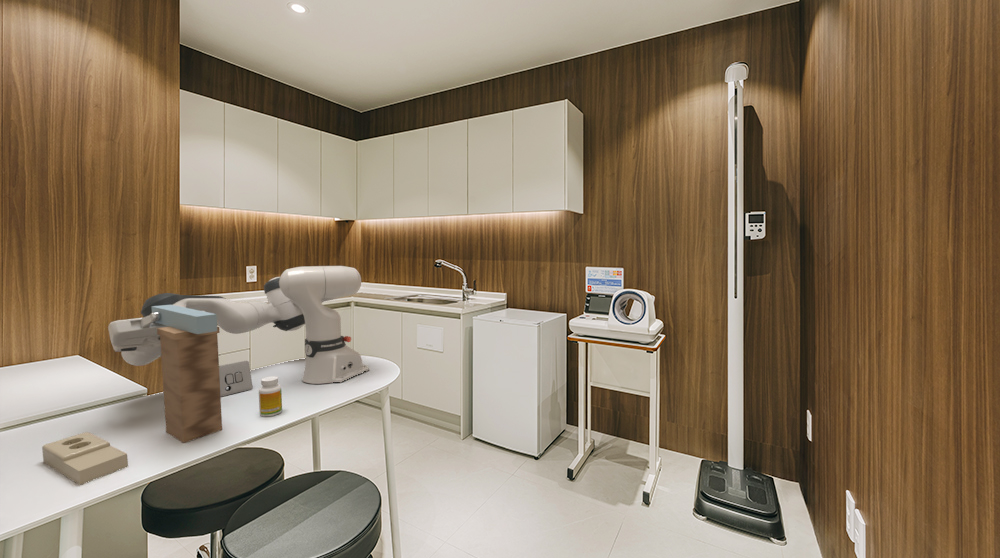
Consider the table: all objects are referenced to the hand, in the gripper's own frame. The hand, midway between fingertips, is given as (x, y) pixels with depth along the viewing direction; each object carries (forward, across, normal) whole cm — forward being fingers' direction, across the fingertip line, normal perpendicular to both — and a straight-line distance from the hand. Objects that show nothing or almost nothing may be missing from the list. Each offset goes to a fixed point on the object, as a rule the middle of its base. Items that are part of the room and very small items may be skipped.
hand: (170, 313), depth 101 cm
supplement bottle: (-1, -16, -32) cm, 36 cm away
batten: (+5, 0, -6) cm, 8 cm away
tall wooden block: (-5, 0, -30) cm, 30 cm away
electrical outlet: (-7, +19, -29) cm, 36 cm away
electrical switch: (-24, -18, -20) cm, 36 cm away
